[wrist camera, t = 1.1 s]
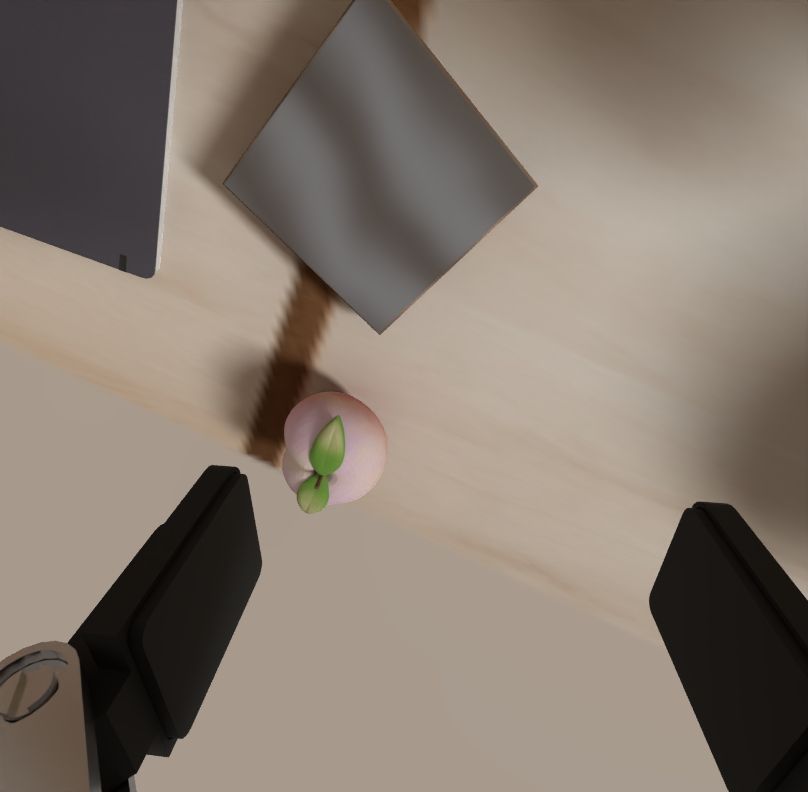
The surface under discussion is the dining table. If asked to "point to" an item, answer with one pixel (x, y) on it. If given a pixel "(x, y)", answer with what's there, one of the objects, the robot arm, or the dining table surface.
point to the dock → (378, 166)
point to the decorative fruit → (332, 450)
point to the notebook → (88, 125)
